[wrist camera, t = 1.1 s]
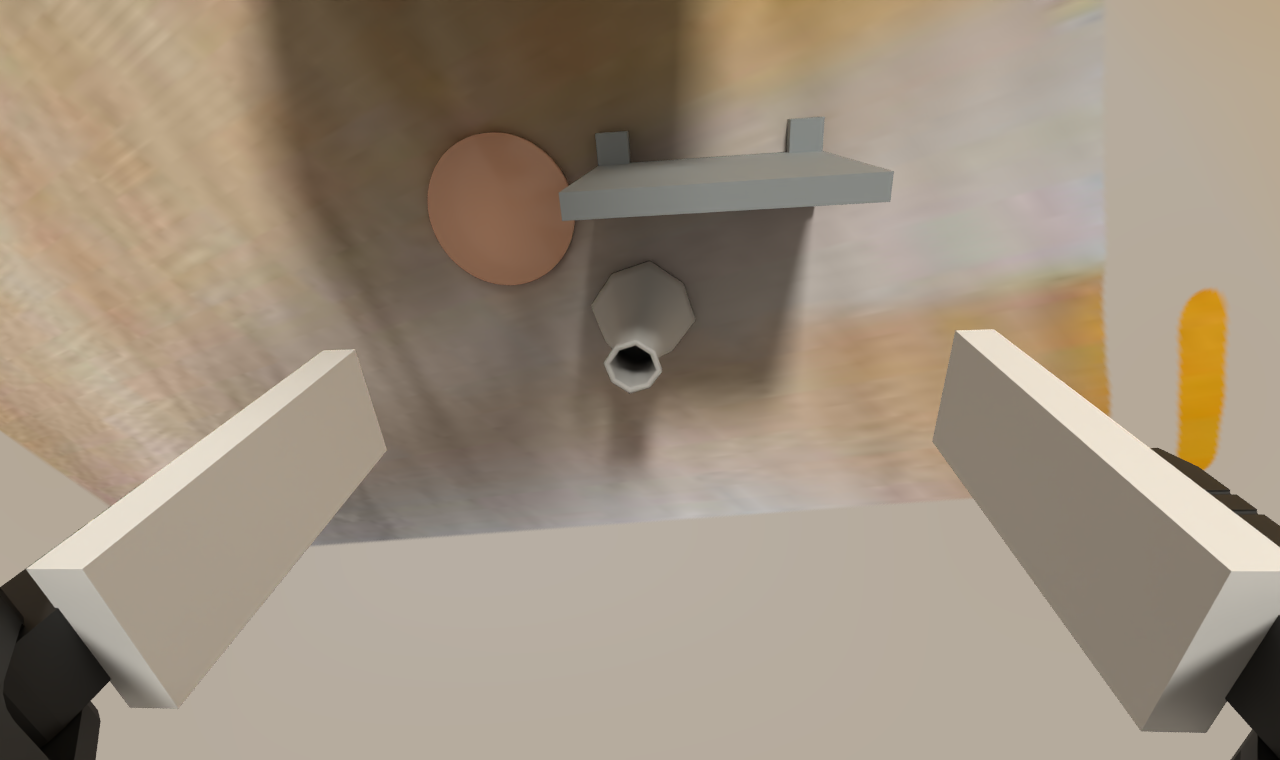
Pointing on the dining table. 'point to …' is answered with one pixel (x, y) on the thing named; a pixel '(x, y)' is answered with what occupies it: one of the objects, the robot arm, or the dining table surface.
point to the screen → (723, 180)
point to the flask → (641, 323)
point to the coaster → (499, 208)
